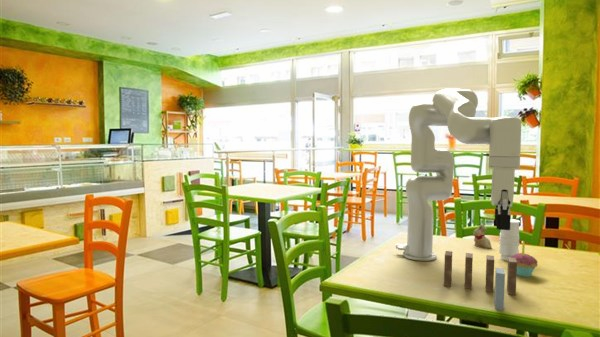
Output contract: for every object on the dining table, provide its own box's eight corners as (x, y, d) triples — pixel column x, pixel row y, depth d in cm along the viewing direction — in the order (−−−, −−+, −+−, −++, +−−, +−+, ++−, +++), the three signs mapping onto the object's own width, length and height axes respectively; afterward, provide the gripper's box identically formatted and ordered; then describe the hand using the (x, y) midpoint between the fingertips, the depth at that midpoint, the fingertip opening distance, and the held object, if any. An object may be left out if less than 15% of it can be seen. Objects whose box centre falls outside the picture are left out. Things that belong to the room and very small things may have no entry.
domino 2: (464, 288, 126) (465, 257, 125) (464, 283, 131) (465, 252, 130) (471, 289, 125) (472, 257, 125) (471, 284, 130) (472, 253, 129)
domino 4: (495, 309, 111) (496, 273, 110) (494, 302, 116) (495, 267, 115) (503, 310, 110) (504, 274, 110) (502, 303, 115) (503, 268, 114)
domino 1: (443, 286, 128) (444, 254, 128) (444, 281, 133) (445, 250, 132) (450, 287, 128) (451, 255, 127) (451, 281, 132) (452, 251, 132)
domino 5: (508, 294, 121) (509, 261, 121) (506, 289, 126) (508, 257, 125) (515, 295, 121) (517, 262, 120) (514, 290, 125) (515, 257, 125)
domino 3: (485, 291, 124) (487, 259, 123) (485, 286, 128) (486, 255, 128) (493, 292, 123) (494, 260, 122) (492, 287, 128) (493, 255, 127)
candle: (512, 256, 162) (513, 218, 161) (522, 261, 155) (524, 222, 154) (495, 256, 162) (496, 218, 161) (504, 261, 155) (506, 222, 154)
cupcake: (536, 280, 134) (538, 244, 133) (507, 275, 138) (508, 240, 138) (537, 273, 141) (539, 238, 140) (509, 269, 146) (511, 235, 145)
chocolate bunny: (483, 244, 181) (484, 221, 180) (493, 248, 173) (494, 225, 172) (471, 244, 180) (472, 221, 180) (480, 248, 173) (481, 225, 172)
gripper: (487, 161, 120) (486, 219, 121) (490, 164, 104) (487, 231, 105) (516, 162, 117) (514, 221, 118) (523, 165, 101) (521, 233, 102)
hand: (502, 226), depth 111 cm, fingers open, 9 cm apart
